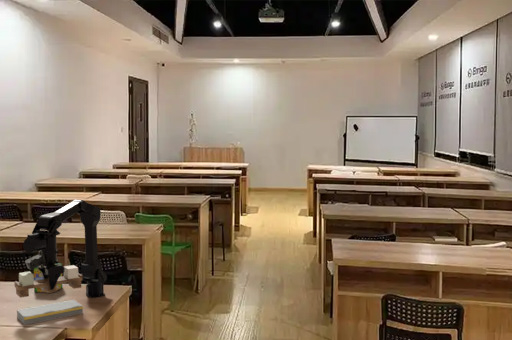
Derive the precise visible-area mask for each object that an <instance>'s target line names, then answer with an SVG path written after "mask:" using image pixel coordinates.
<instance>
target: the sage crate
mask: <svg viewBox="0 0 512 340" xmlns="http://www.w3.org/2000/svg"><path fill="white" fill-rule="evenodd" d="M18 283H19V284H20V285H22V286H28V285H34V273H32V272H31V271H24V272H19V273H18Z"/></svg>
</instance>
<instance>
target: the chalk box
mask: <svg viewBox="0 0 512 340" xmlns="http://www.w3.org/2000/svg"><path fill="white" fill-rule="evenodd" d="M58 264H60V265H62V266H63V264H62V263H59V262H58ZM38 267H39V266H38ZM33 275H34V281H35V280H42V279H43V275H42V272H41V271H40V270H38V269H37V267H36V268H35V269H33ZM61 276H63V273H62V274H61V275H60V277H61ZM62 289H63V283H62V284H56V291H59V290H62ZM33 290H34V293H47V292H46V291H45V290H43V287H38V288H33ZM51 294H54V292H51Z"/></svg>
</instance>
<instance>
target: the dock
mask: <svg viewBox="0 0 512 340" xmlns="http://www.w3.org/2000/svg"><path fill="white" fill-rule="evenodd" d="M83 309H84V306H83V305H82V304H81V303H80V302H78V301H77V300H76V299H69V300H65V301H63V300H62V301H58V302H53V303H48V304H43V305H37V306H36V305H35V306H33V307H27V308H26V307H25V308H21V309H17V310H16V318H17V319H18V320H19V321H20V322H21V324H22V325H24V326H26V325H30V324H31V325H32V324H37V323H42V322H46V321H51V320H57V319H61V318H66V317H71V316H76V315H80V314H83V313H84V311H83Z"/></svg>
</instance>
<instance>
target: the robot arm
mask: <svg viewBox="0 0 512 340" xmlns="http://www.w3.org/2000/svg"><path fill="white" fill-rule="evenodd" d="M75 214H78V215H79V219H80V222H81V223H82V226H84V245H85V247H84V249H85V260H84V261H83V263H81V264H80V269H81V270H80V274H81V275H82V280H83V282H86V285H85V295H86V296H87V295H88V297H89V298H91V299H92V298H97V297H102V296H106V293H105V292H104V285H105V284H104V283H105V282H107V279H108V275H107V274H106V272H105V271H104V270H103V265H102V263H101V261H100V260H99V258H98V254H99V253H98V233H97V232H98V227H97V226H98V224H99V223H100V221H101V208H100V207H99V206H97V205H93V204H90V203H89V202H87V201H85V200H81V199H74V200H72V201H71V202H70V203H68V204H66V205H65V206H62V207H61V208H59V209H58V210H56V211H54V212H50V213H46V214H42V215H40V216H39V217H38V219H37V221H36V223H35V225H34V227H33V230H32V232H31V234H27V236H26V238H24V241H23V244H22V248H23V250H24V252H25V253H28V254H33V253H36V252H38V254H36V255H34V256H32V257H30V258H28V259H25V261H24V263H25V265H26V267H27V269H29V271H34V269H35V268H36V267H37V269H38V270H40V271H41V272H42V275H43V279H49V284H50V289H51V290H52V289H54V287H55V285H56V283H57V281H58V279H59V277H60V275H61V274H62V275H63V274H64V272H65V268H64V266H63V264H62V265H60V264H61V263H60V264H58V263H59V260H58V259H57V258H58V256H57V255H58V254H59V250H58V249H57V236H59V235H60V234H61V232H60V231H59V230H58V229H59V228H61V226H62V223H63V222H64V221H66V220H68V219H69V218H70V217H73V216H74V215H75ZM38 266H39V267H38Z"/></svg>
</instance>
